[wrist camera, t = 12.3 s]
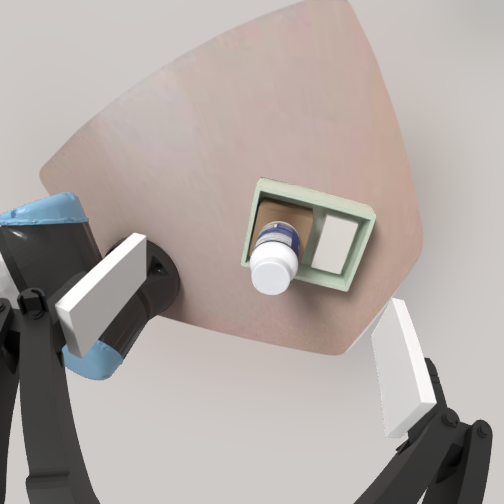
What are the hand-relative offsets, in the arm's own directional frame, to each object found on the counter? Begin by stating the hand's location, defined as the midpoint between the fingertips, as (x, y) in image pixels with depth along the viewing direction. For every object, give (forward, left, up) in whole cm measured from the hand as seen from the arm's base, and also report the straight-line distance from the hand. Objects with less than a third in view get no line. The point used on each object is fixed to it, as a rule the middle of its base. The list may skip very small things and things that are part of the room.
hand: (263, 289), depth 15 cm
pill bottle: (0, -8, -23) cm, 25 cm away
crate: (+4, -8, -29) cm, 30 cm away
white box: (+8, -8, -28) cm, 30 cm away
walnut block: (0, -8, -28) cm, 29 cm away
